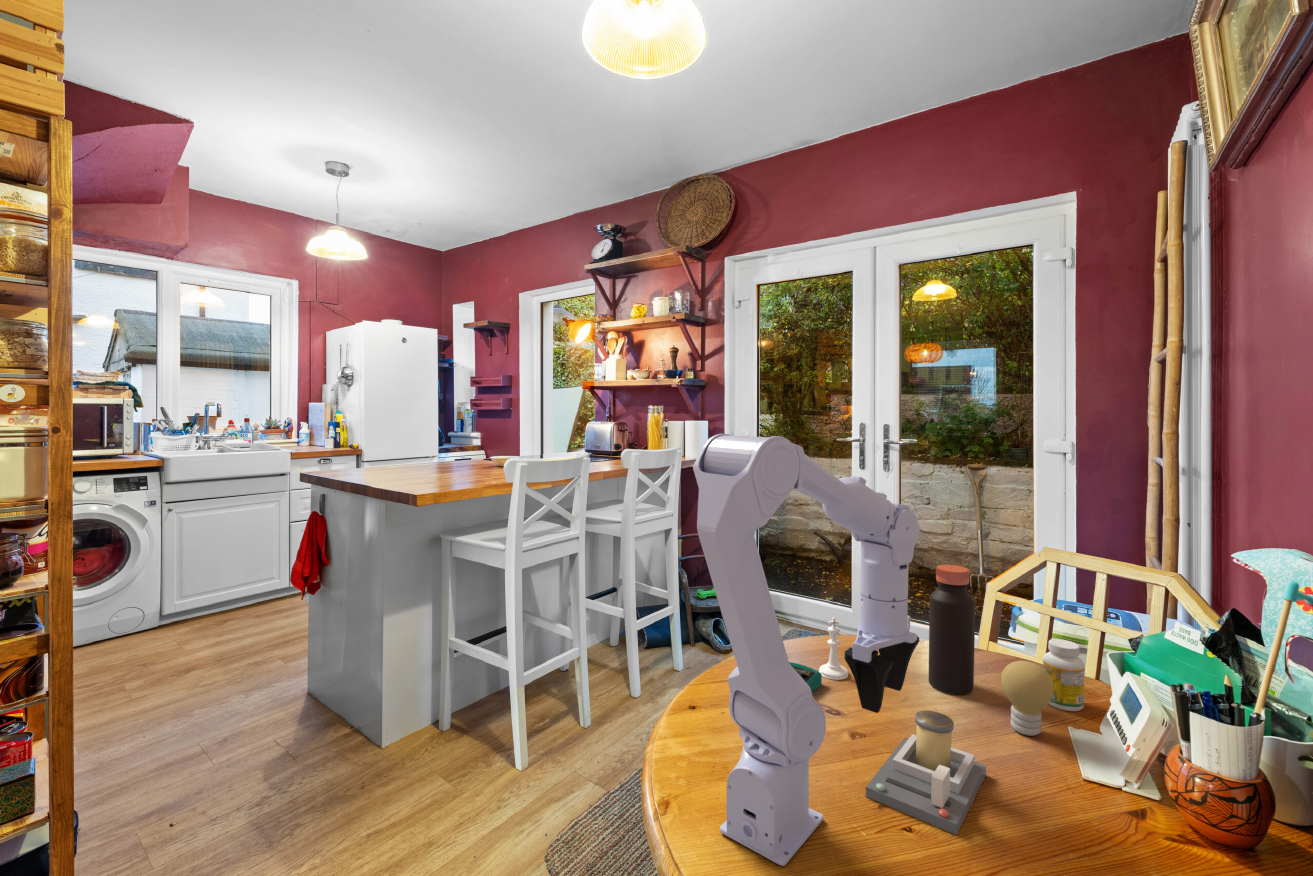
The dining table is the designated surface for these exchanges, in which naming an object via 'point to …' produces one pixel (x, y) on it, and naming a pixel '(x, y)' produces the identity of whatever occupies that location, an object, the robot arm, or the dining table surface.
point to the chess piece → (833, 656)
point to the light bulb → (1026, 694)
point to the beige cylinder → (933, 739)
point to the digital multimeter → (808, 675)
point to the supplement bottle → (1065, 674)
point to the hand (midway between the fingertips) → (882, 698)
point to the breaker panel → (926, 786)
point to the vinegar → (952, 632)
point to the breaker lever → (940, 786)
